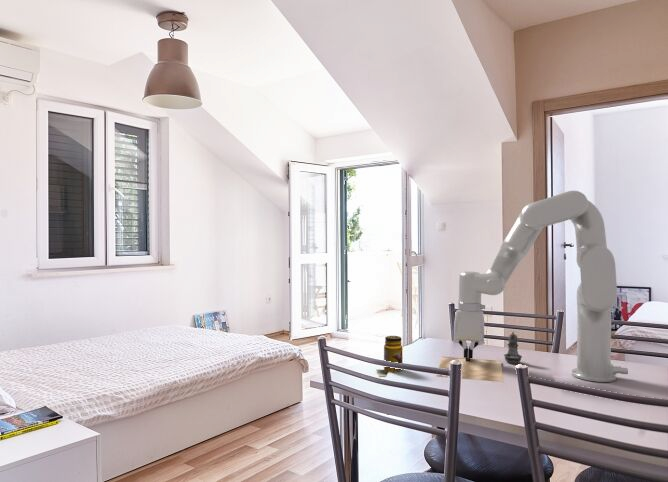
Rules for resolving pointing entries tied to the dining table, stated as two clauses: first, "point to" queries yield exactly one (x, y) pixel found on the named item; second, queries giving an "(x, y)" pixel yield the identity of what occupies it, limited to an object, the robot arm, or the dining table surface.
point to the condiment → (391, 354)
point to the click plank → (474, 364)
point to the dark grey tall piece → (512, 350)
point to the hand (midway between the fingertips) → (468, 359)
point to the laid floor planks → (480, 375)
